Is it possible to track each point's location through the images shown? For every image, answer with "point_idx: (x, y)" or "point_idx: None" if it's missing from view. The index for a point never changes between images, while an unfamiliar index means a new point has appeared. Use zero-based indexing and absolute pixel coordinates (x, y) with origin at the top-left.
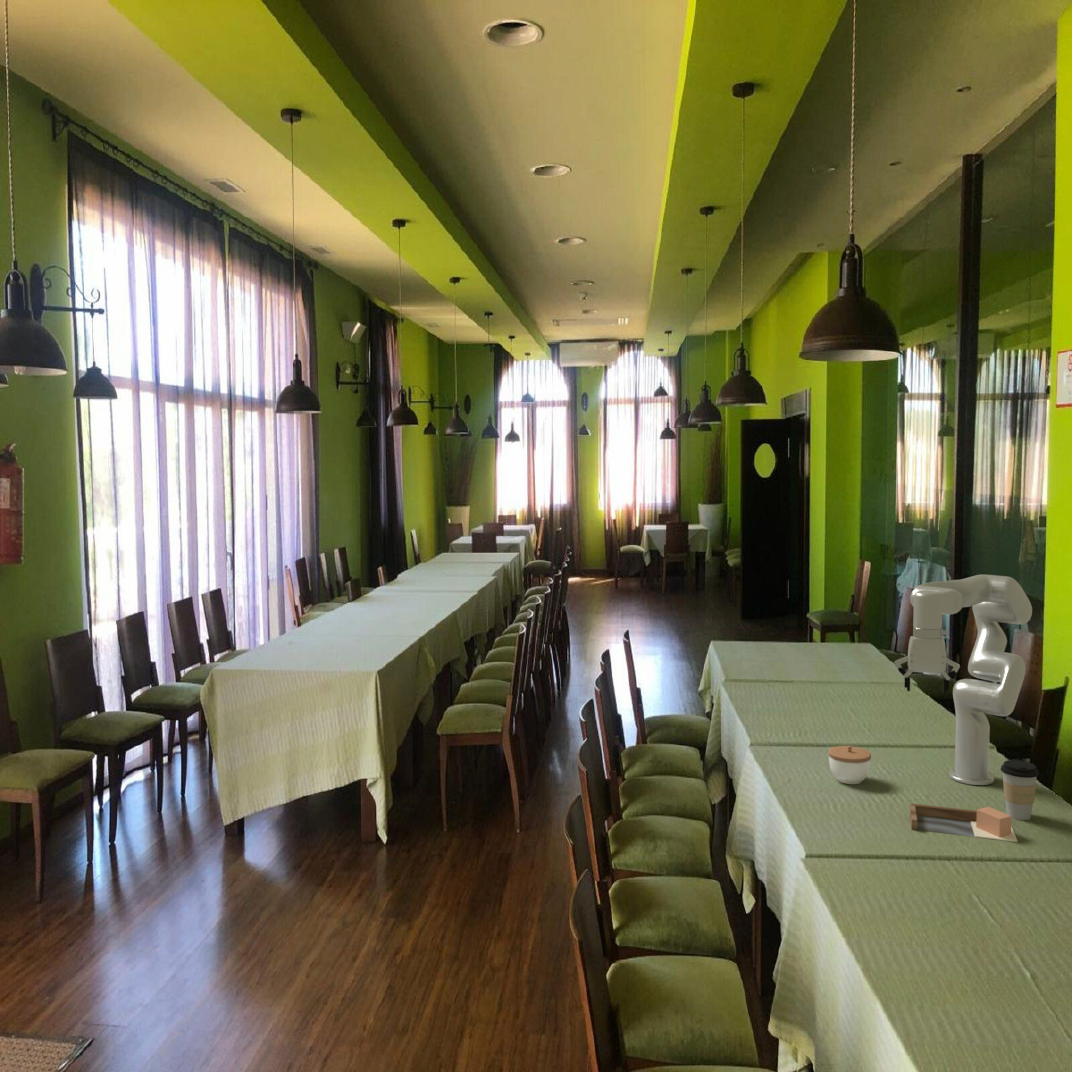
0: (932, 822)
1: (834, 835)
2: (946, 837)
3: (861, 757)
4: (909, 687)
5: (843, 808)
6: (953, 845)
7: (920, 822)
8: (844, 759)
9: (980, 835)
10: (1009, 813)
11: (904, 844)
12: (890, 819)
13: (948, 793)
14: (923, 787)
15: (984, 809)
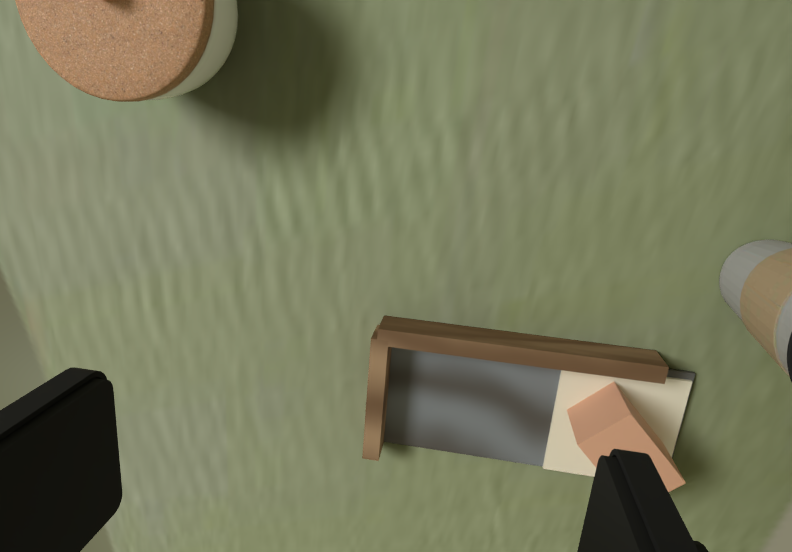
0: (438, 383)
1: (172, 490)
2: (460, 468)
3: (163, 70)
4: (78, 545)
5: (182, 308)
6: (468, 513)
7: (401, 388)
8: (98, 96)
9: (561, 463)
10: (726, 299)
11: (341, 520)
12: (316, 369)
13: (559, 78)
14: (469, 27)
15: (606, 441)
